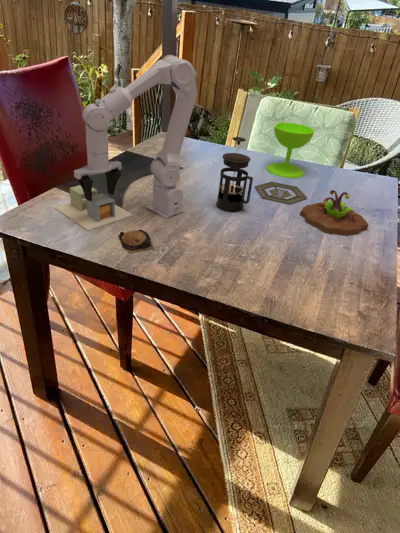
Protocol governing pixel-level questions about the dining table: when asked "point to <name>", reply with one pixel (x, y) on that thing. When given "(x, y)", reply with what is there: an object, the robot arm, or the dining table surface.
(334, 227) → the plant
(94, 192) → the far cover
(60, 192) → the dining table surface
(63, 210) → the mat
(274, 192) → the hexagonal trivet
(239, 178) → the french press
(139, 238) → the wood slice
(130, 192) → the dining table surface
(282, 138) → the wineglass
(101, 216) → the orange block
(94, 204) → the near cover
